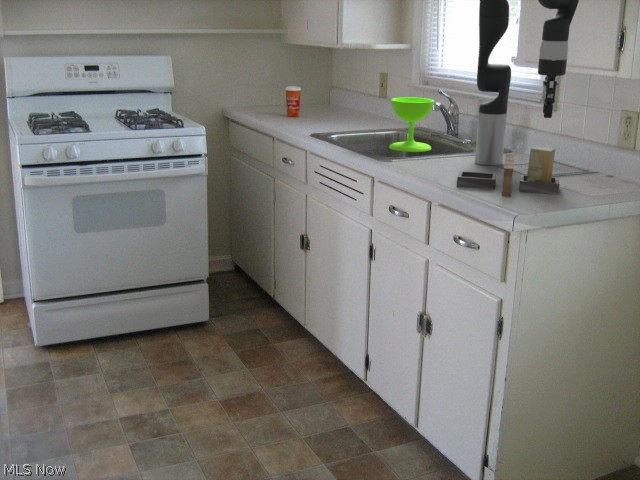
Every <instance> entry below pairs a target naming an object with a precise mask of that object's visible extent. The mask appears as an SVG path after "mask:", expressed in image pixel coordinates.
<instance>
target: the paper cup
mask: <svg viewBox="0 0 640 480" xmlns="http://www.w3.org/2000/svg"><path fill="white" fill-rule="evenodd" d="M284 90H285V98H286V99H285V100H286V101H285V102H286V116H287V117H288V118H298V117H299V116H300V105H301V91H302V89H301V87H300V86H297V85H295V86H294V85H292V86H291V85H290V86H286V87H285V89H284Z"/></svg>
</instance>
